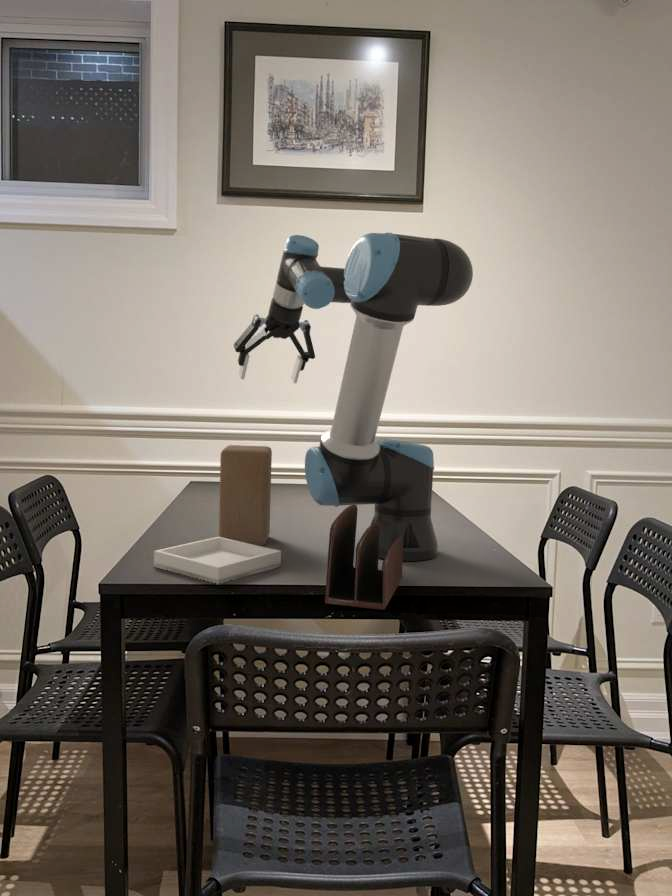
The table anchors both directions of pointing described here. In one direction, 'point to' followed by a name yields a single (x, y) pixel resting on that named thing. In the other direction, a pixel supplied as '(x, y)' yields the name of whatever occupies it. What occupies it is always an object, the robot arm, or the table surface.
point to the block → (245, 493)
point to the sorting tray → (217, 559)
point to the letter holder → (360, 565)
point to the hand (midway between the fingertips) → (267, 378)
